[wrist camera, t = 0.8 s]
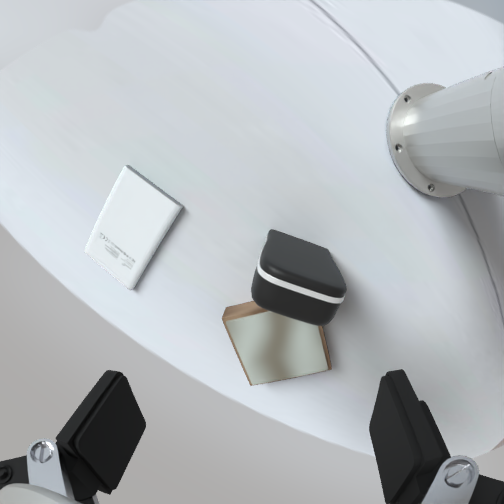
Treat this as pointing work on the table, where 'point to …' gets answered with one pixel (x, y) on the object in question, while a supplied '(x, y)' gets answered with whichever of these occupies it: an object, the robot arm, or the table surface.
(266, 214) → the table surface
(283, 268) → the battery charger
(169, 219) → the external hard drive
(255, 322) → the plinth
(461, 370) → the table surface
